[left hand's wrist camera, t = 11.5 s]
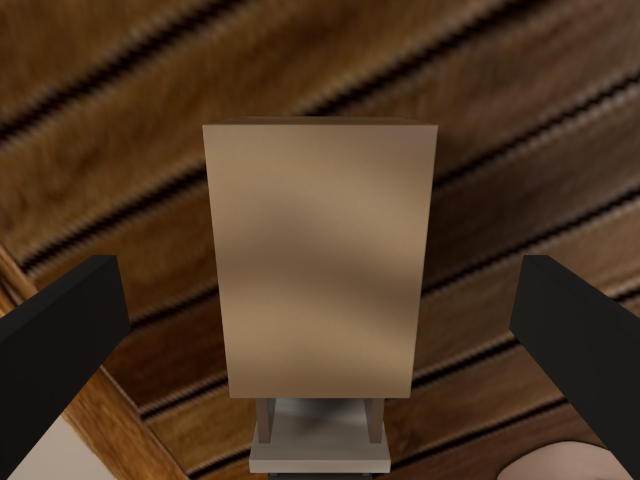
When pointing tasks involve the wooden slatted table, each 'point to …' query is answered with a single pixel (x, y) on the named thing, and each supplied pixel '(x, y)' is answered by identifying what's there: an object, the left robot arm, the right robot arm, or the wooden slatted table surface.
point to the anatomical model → (566, 464)
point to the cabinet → (320, 251)
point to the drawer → (320, 439)
